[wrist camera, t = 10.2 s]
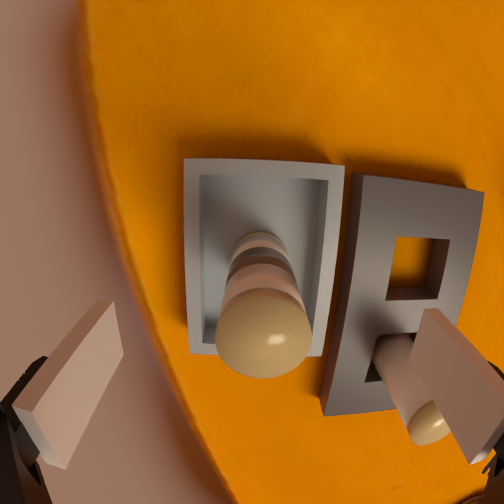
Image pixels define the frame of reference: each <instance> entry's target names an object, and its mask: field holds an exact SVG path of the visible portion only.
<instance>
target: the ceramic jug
mask: <svg viewBox="0 0 504 504" xmlns="http://www.w3.org/2000/svg"><path fill="white" fill-rule="evenodd" d="M482 499H483V498H482V497H480V496H479V495H477V496H474V497H472V498H470V499H468V500H466V501H465V502H463V503H461V504H481V503H482Z"/></svg>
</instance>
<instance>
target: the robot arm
mask: <svg viewBox="0 0 504 504" xmlns="http://www.w3.org/2000/svg"><path fill="white" fill-rule="evenodd" d="M122 357H123V350H122V345H121V340H120V335H119V329H118V324H117V318H116V312H115V306H114V301H108V300H97V301H96V302H95V303H94V304H93V305H92V307H91V308H90V309H89V310H88V311H87V312H86V314H85V315H84V316H83V317H82V318H81V319H80V320H79V322H78V323H77V324H76V325H75V326H74V327H73V328H72V330H71V331H70V332H69V333H68V334H67V336H66V337H65V338H64V339H63V340H62V341H61V343H60V344H59V345H58V346H57V348H56V349H55V350H54V351H53V352H52V354H51V355H50V356H49V357H45V356H42V357H41V358H39V359H37V360H36V361H34V362H33V363H32V364H31V365H30V366H29V367H28V369H27V370H26V371H25V374H23V375H22V376H21V377H20V378H19V381H17V382H16V383H15V385H14V386H13V387H12V388H11V390H10V391H9V392H8V393H7V395H6V396H5V397H4V399H3V400H2V401H1V402H0V504H52V501H51V498H50V496H49V493H48V490H47V488H46V485H45V482H44V479H43V476H42V473H41V470H40V467H39V464H38V463H37V461H36V459H37V457H38V455H39V453H40V454H41V455H42V457H43V458H44V460H45V461H46V463H48V464H51V465H54V466H56V467H59V468H62V469H65V470H66V468H67V465H68V463H69V461H70V459H71V457H72V455H73V452H74V450H75V449H76V446H77V444H78V442H79V440H80V438H81V436H82V434H83V432H84V430H85V428H86V426H87V424H88V422H89V420H90V418H91V416H92V414H93V412H94V410H95V408H96V406H97V404H98V402H99V400H100V398H101V396H102V394H103V393H104V391H105V389H106V387H107V385H108V383H109V381H110V379H111V377H112V375H113V374H114V372H115V370H116V368H117V366H118V364H119V363H120V361H121V359H122ZM408 360H409V362H410V363H411V365H412V366H413V368H414V370H415V371H416V373H417V374H418V376H419V378H420V379H421V381H422V383H423V384H424V386H425V387H426V389H427V391H428V392H429V394H430V396H431V397H432V399H433V401H434V402H435V404H436V406H437V407H438V409H439V411H440V413H441V414H442V416H443V418H444V420H445V421H446V423H447V425H448V426H449V428H450V430H451V432H452V434H453V435H454V437H455V439H456V441H457V443H458V444H459V446H460V448H461V450H462V452H463V454H464V455H465V457H466V459H467V461H468V463H469V465H471V464H473V463H476V462H478V461H481V460H483V459H485V458H486V457H487V455H488V454H489V453H490V451H491V450H492V449H494V450H495V452H496V454H495V456H494V457H493V458H492V459H491V461H490V462H489V463H488V464H487V466H486V467H485V468H484V469H483V471H482V473H483V474H484V473H485V472H486V471H487V470H488V468H490V472H489V473H488V474H487V475H489V476H488V480H487V484H486V488H485V492H484V496H483V499H482V503H481V504H504V374H503V373H502V371H501V370H500V369H499V368H498V367H497V366H495V365H494V364H492V363H491V362H489V361H486V359H485V358H484V357H483V356H482V355H481V354H480V353H479V352H478V350H477V349H476V348H475V347H474V346H473V345H472V344H471V343H470V342H469V341H468V340H467V338H466V337H465V336H464V335H463V334H462V333H461V332H460V331H459V330H458V329H457V328H456V327H455V326H454V325H453V324H452V322H451V321H450V320H449V319H448V318H447V317H446V316H445V315H444V314H443V313H442V312H441V311H440V310H439V309H438V308H431V309H424V311H423V314H422V318H421V321H420V325H419V328H418V332H417V335H416V338H415V341H414V344H413V347H412V350H411V353H410V356H409V359H408Z"/></svg>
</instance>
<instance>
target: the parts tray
mask: <svg viewBox="0 0 504 504" xmlns="http://www.w3.org/2000/svg"><path fill="white" fill-rule="evenodd" d="M344 172H345V166H343V165H337V164H329V163H317V162H304V161H288V160H269V159H243V158H187V159H184V255H185V283H186V304H187V321H188V336H189V350H190V353H192V354H208V355H219V353H218V351H217V348H216V344H215V333H216V328H217V324H218V319H219V314H220V309H221V304H222V299H223V295H224V290H225V285H226V280H227V276H228V271H229V266H230V262H231V257H232V252H233V249H234V246H235V244H236V243H237V241H238V240H239V239H240V238H241V237H243V236H244V235H246V234H248V233H250V232H253V231H266V232H269V233H272V234H274V235H276V236H277V237H278V238H279V239H280V240H281V241H282V242H283V244H284V245H285V248H286V251H287V254H288V257H289V260H290V263H291V266H292V269H293V272H294V276H295V279H296V282H297V285H298V288H299V291H300V295H301V298H302V301H303V304H304V308H305V311H306V314H307V317H308V321H309V324H310V327H311V331H312V342H311V347H310V349H309V352H308V354H307V356H322V351H323V346H324V340H325V334H326V328H327V322H328V315H329V309H330V302H331V295H332V288H333V281H334V273H335V265H336V257H337V249H338V240H339V230H340V221H341V210H342V199H343V186H344Z"/></svg>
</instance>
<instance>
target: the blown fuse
mask: <svg viewBox="0 0 504 504" xmlns="http://www.w3.org/2000/svg"><path fill="white" fill-rule="evenodd" d="M311 342H312V331H311V327H310V324H309V321H308V317H307V314H306V311H305V308H304V304H303V301H302V298H301V295H300V291H299V288H298V285H297V282H296V279H295V276H294V272H293V269H292V266H291V263H290V260H289V257H288V254H287V251H286V248H285V245H284V244H283V242H282V241H281V240H280V239H279V238H278V237H277V236H276V235H274V234H272V233H269V232H266V231H253V232H250V233H248V234H246V235H244V236H243V237H241V238H240V239H239V240H238V241H237V243H236V244H235V246H234V249H233V252H232V257H231V262H230V266H229V271H228V276H227V280H226V285H225V290H224V295H223V299H222V304H221V309H220V314H219V319H218V324H217V328H216V333H215V344H216V348H217V351H218V353H219V355H220V357H221V359H222V360H223V361H224V362H225V363H226V364H227V365H228V366H229V367H230V368H231V369H233V370H234V371H236V372H238V373H240V374H242V375H245V376H249V377H254V378H271V377H276V376H280V375H283V374H285V373H287V372H289V371H291V370H293V369H294V368H296V367H297V366H298V365H299V364H300V363H301V362H302V361H303V360H304V358H305V357H306V356H307V354H308V352H309V349H310V347H311Z"/></svg>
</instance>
